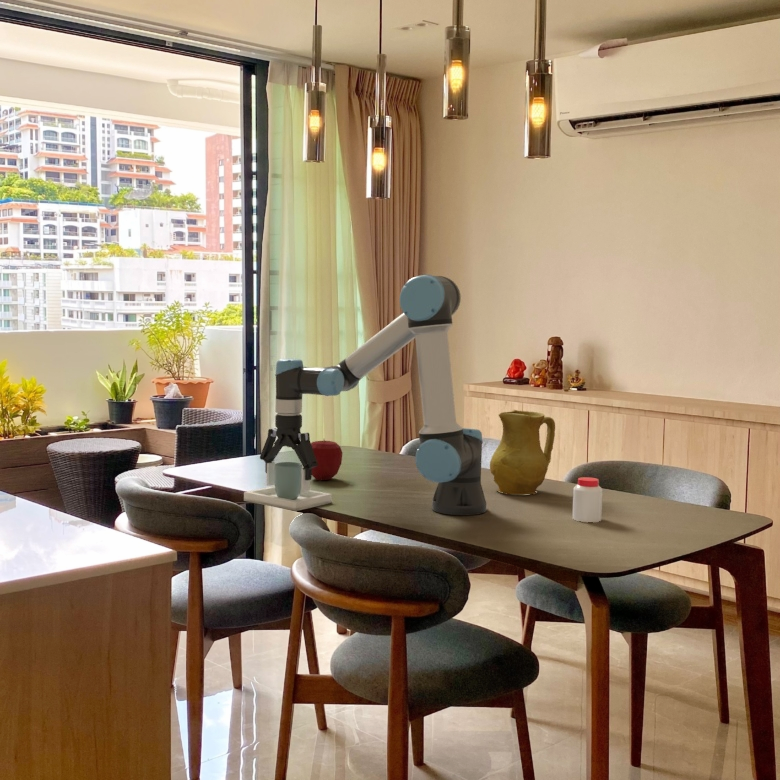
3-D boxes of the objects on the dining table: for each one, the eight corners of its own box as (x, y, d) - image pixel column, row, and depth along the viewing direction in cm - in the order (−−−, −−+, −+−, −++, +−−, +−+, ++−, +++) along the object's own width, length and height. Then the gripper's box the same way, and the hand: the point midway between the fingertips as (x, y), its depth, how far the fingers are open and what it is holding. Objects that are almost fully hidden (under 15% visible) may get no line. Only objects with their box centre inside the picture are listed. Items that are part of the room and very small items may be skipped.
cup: (297, 502, 274) (297, 467, 273) (270, 500, 276) (270, 465, 275) (305, 497, 282) (305, 462, 281) (279, 495, 283) (279, 461, 282)
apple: (333, 484, 306) (334, 441, 305) (299, 481, 310) (299, 439, 308) (347, 477, 317) (348, 436, 316) (314, 474, 321) (315, 434, 320)
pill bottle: (595, 523, 259) (597, 482, 258) (567, 519, 263) (569, 479, 262) (605, 518, 266) (607, 478, 264) (578, 514, 270) (579, 475, 269)
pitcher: (490, 483, 310) (497, 405, 307) (550, 490, 306) (557, 411, 303) (484, 495, 293) (491, 413, 290) (547, 502, 290) (554, 419, 286)
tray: (331, 502, 278) (331, 494, 278) (295, 511, 267) (295, 502, 266) (280, 493, 291) (280, 484, 290) (243, 500, 279) (244, 492, 278)
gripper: (330, 416, 272) (329, 492, 274) (266, 408, 287) (265, 480, 289) (312, 419, 266) (311, 496, 268) (248, 411, 281) (247, 484, 283)
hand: (287, 488), depth 278 cm, fingers open, 13 cm apart
